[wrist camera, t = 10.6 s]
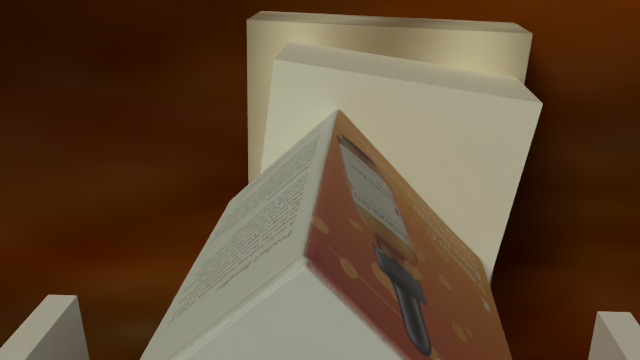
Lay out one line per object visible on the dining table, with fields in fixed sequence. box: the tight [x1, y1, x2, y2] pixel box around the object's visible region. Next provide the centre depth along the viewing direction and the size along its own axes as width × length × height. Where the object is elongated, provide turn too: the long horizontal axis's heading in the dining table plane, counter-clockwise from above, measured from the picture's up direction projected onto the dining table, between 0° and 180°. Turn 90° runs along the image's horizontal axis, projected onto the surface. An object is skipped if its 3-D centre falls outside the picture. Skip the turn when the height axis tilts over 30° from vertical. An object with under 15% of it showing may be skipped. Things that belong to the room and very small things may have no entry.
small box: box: [140, 109, 512, 360], centre depth 17 cm, size 8×6×10 cm
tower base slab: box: [247, 11, 533, 286], centre depth 27 cm, size 11×13×4 cm
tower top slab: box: [260, 40, 543, 283], centre depth 24 cm, size 9×11×4 cm
